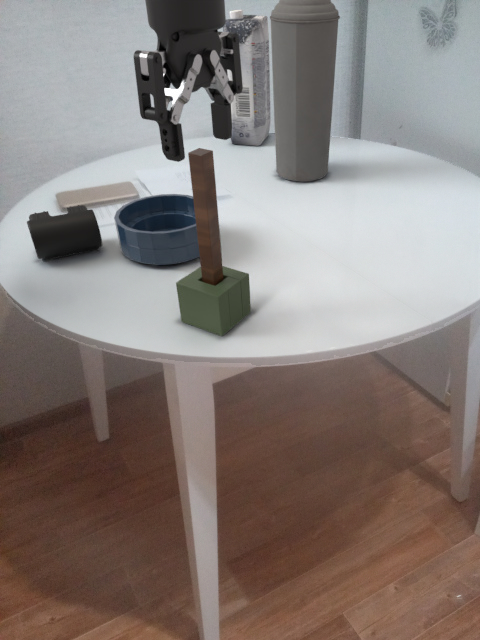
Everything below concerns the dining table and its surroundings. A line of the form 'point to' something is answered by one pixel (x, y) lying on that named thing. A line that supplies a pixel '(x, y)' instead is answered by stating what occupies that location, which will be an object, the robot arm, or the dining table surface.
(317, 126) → the canister
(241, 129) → the juice carton
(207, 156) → the stick
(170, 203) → the bowl
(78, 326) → the dining table surface
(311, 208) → the dining table surface
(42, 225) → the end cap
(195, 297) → the holder
